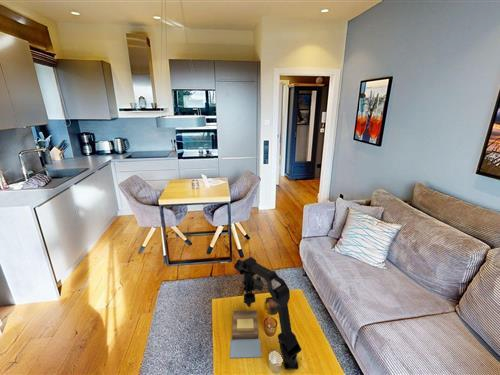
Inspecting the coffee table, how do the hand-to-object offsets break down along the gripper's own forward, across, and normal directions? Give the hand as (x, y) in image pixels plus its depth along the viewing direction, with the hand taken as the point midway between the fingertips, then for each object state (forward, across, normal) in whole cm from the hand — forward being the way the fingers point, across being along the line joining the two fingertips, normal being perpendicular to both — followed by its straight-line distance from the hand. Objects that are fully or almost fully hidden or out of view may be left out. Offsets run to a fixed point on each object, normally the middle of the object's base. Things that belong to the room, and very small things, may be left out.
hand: (248, 300), depth 141 cm
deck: (+13, -6, +2) cm, 14 cm away
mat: (+12, -20, +3) cm, 23 cm away
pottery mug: (+13, +5, -16) cm, 21 cm away
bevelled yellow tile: (+8, -10, +3) cm, 13 cm away
